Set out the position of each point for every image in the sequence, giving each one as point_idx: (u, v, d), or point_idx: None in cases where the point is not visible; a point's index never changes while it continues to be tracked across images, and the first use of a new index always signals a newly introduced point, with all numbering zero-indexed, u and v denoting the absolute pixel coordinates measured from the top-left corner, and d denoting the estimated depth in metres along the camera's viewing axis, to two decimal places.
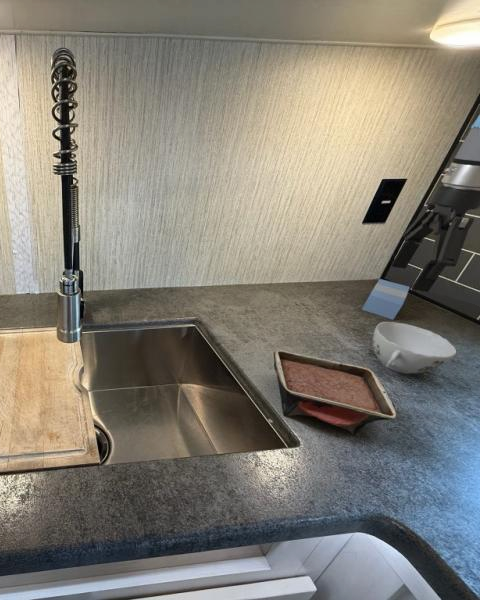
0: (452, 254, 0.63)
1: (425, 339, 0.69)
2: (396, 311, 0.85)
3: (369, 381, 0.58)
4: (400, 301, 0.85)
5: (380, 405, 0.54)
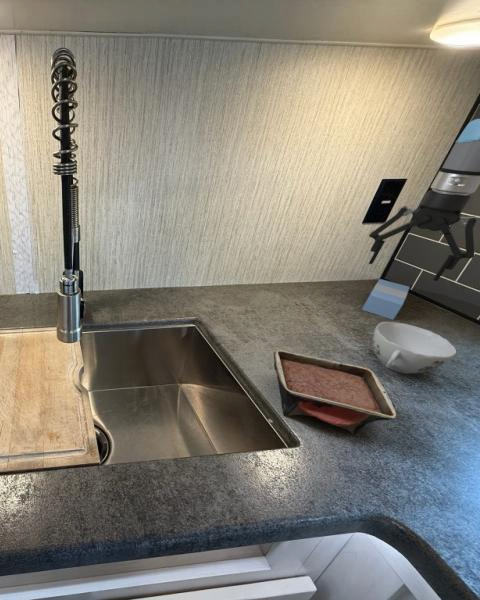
0: (473, 247, 0.76)
1: (425, 339, 0.69)
2: (396, 311, 0.85)
3: (369, 381, 0.58)
4: (400, 301, 0.85)
5: (380, 405, 0.54)
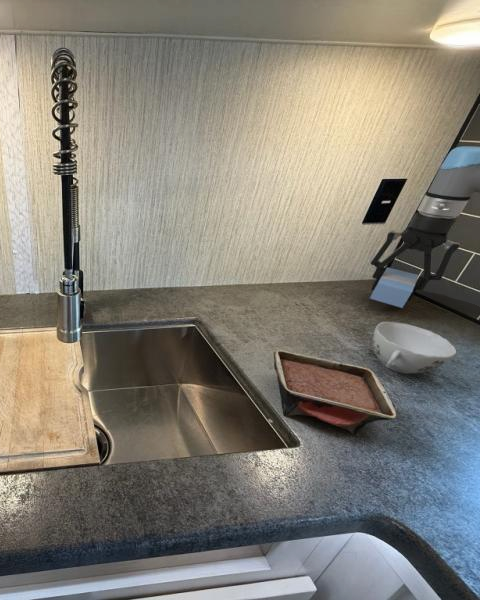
0: None
1: (425, 339, 0.69)
2: (405, 299, 0.83)
3: (369, 381, 0.58)
4: (409, 288, 0.83)
5: (380, 405, 0.54)
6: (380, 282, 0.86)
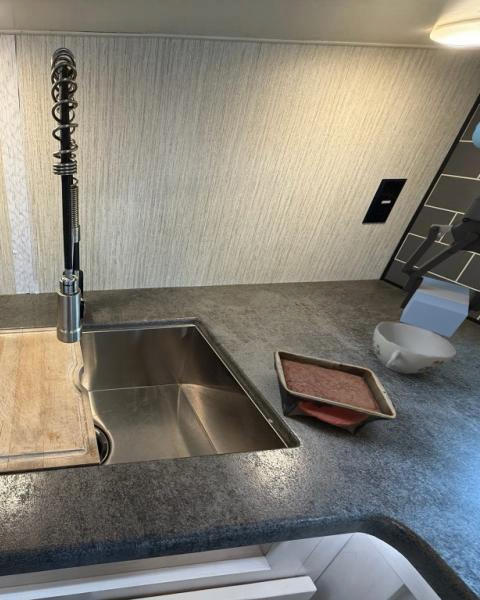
0: None
1: (425, 339, 0.69)
2: (456, 325, 0.56)
3: (369, 381, 0.58)
4: (462, 309, 0.56)
5: (380, 405, 0.54)
6: (417, 298, 0.59)
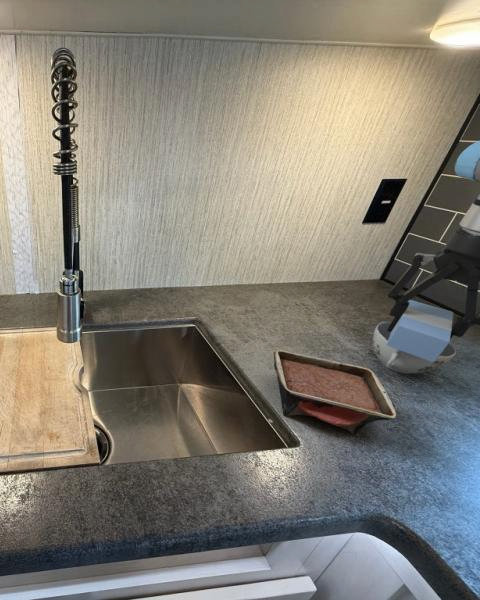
0: None
1: None
2: (439, 351, 0.58)
3: (369, 381, 0.58)
4: (445, 336, 0.58)
5: (380, 405, 0.54)
6: (402, 324, 0.61)
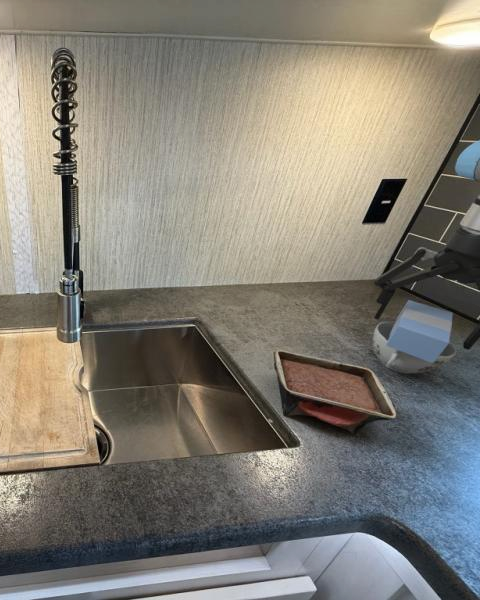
0: None
1: None
2: (438, 351, 0.58)
3: (369, 381, 0.58)
4: (444, 336, 0.58)
5: (380, 405, 0.54)
6: (402, 325, 0.61)
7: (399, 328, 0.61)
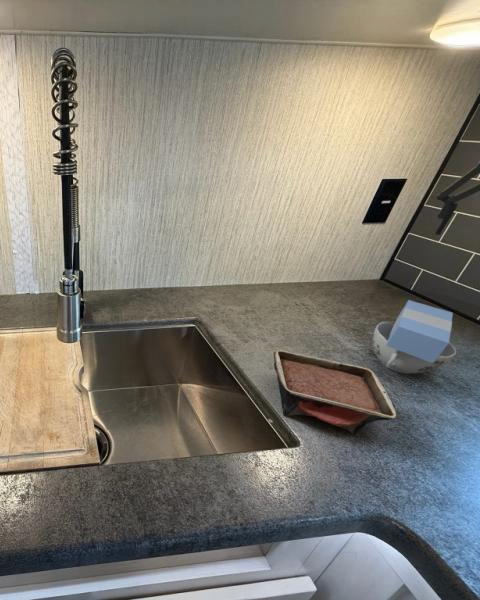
0: None
1: None
2: (438, 351, 0.58)
3: (369, 381, 0.58)
4: (444, 336, 0.58)
5: (380, 405, 0.54)
6: (402, 325, 0.61)
7: (399, 328, 0.61)
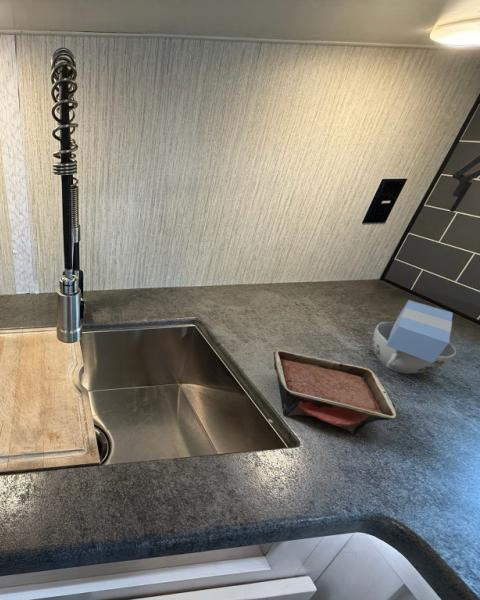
0: None
1: None
2: (438, 351, 0.58)
3: (369, 381, 0.58)
4: (444, 336, 0.58)
5: (380, 405, 0.54)
6: (402, 325, 0.61)
7: (399, 328, 0.61)
